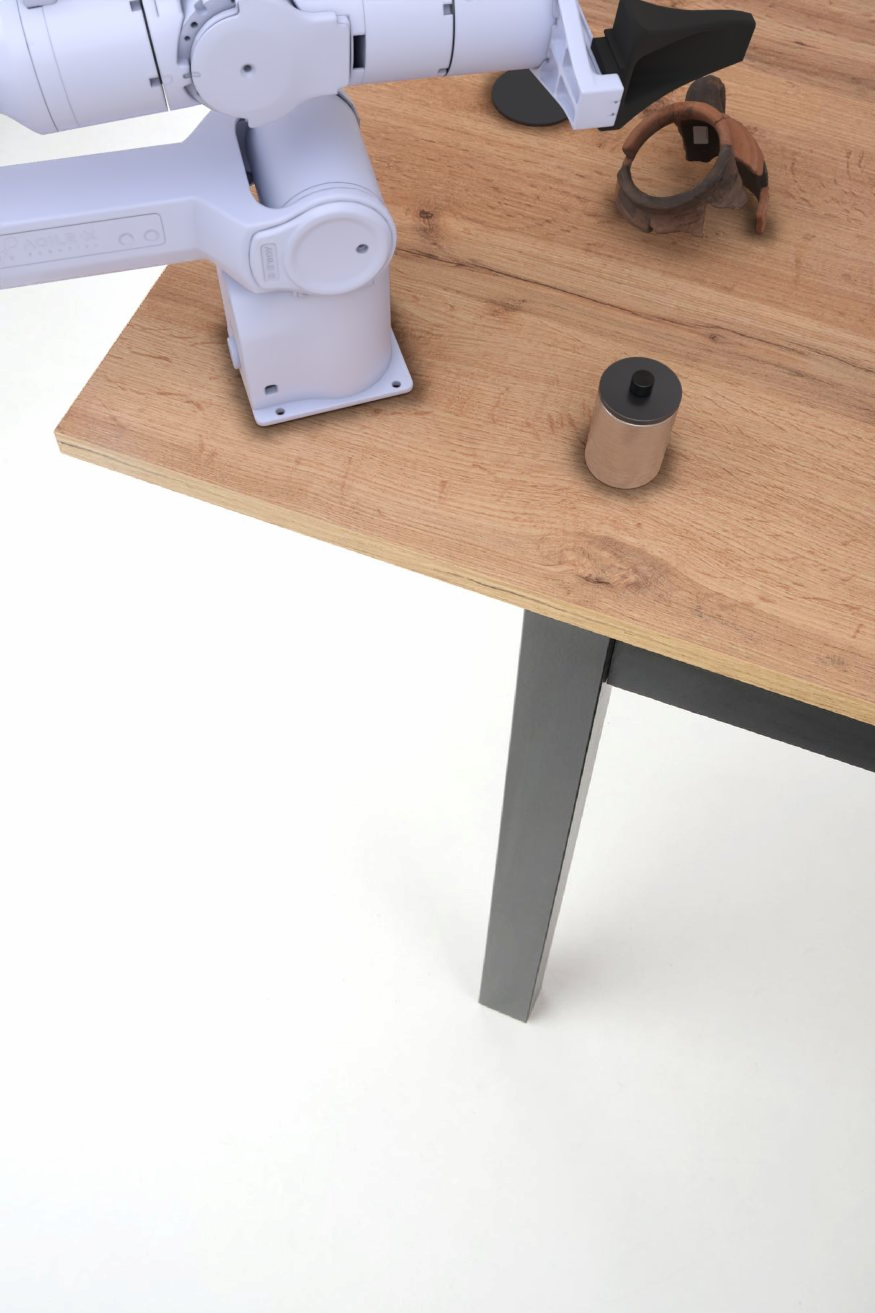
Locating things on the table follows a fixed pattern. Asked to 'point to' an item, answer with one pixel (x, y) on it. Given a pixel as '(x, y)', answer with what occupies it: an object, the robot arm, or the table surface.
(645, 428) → the steel pot
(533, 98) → the trivet
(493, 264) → the table surface
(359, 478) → the table surface
